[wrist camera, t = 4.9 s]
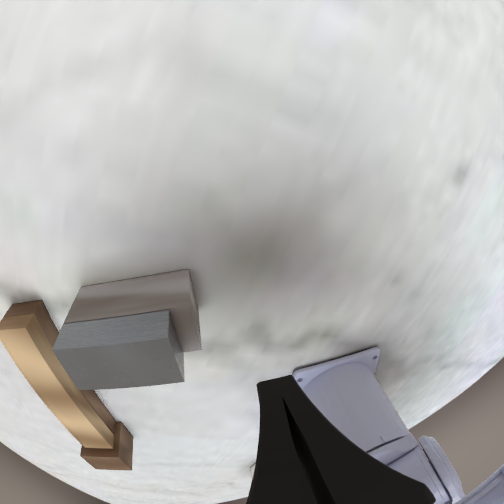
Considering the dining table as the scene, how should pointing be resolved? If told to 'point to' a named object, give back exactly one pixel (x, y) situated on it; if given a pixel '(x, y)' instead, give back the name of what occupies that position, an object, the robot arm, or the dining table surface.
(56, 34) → the dining table surface
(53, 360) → the arm
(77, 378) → the bar
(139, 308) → the brown grey blocky piece
